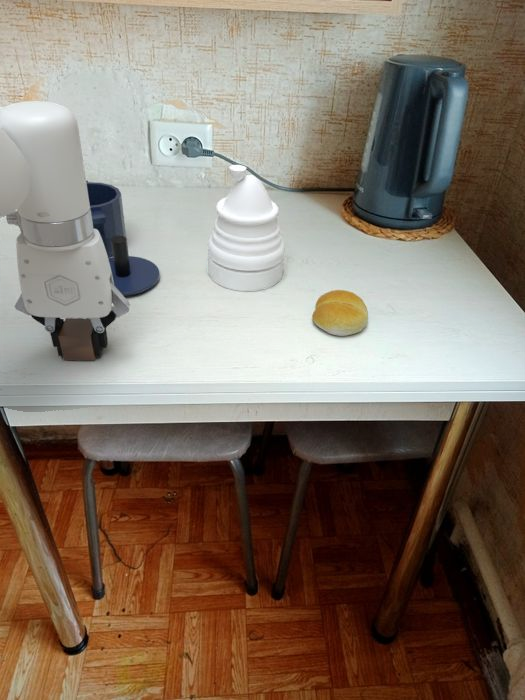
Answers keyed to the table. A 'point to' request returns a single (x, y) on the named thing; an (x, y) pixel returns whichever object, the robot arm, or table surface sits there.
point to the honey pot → (246, 237)
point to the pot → (106, 212)
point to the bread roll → (340, 313)
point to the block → (77, 339)
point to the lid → (131, 269)
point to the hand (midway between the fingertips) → (82, 349)
